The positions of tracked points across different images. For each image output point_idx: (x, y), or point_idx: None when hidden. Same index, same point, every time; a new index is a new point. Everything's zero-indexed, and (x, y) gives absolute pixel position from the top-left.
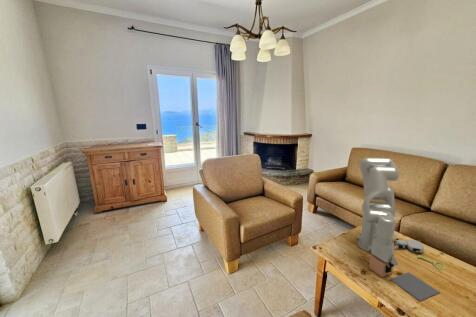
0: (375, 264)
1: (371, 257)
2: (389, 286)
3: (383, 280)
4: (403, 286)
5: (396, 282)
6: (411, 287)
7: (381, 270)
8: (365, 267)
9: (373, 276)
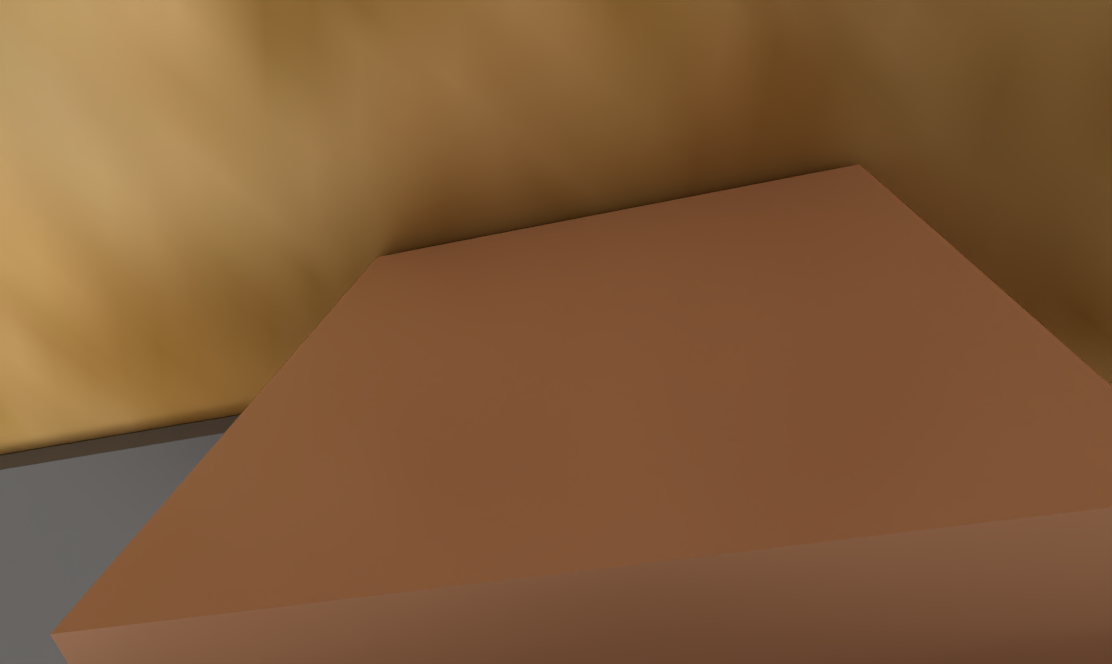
0: (634, 341)
1: (1037, 431)
2: (14, 202)
3: (253, 211)
4: (4, 532)
5: (132, 482)
6: (3, 661)
7: (333, 355)
8: (933, 44)
9: (442, 2)
